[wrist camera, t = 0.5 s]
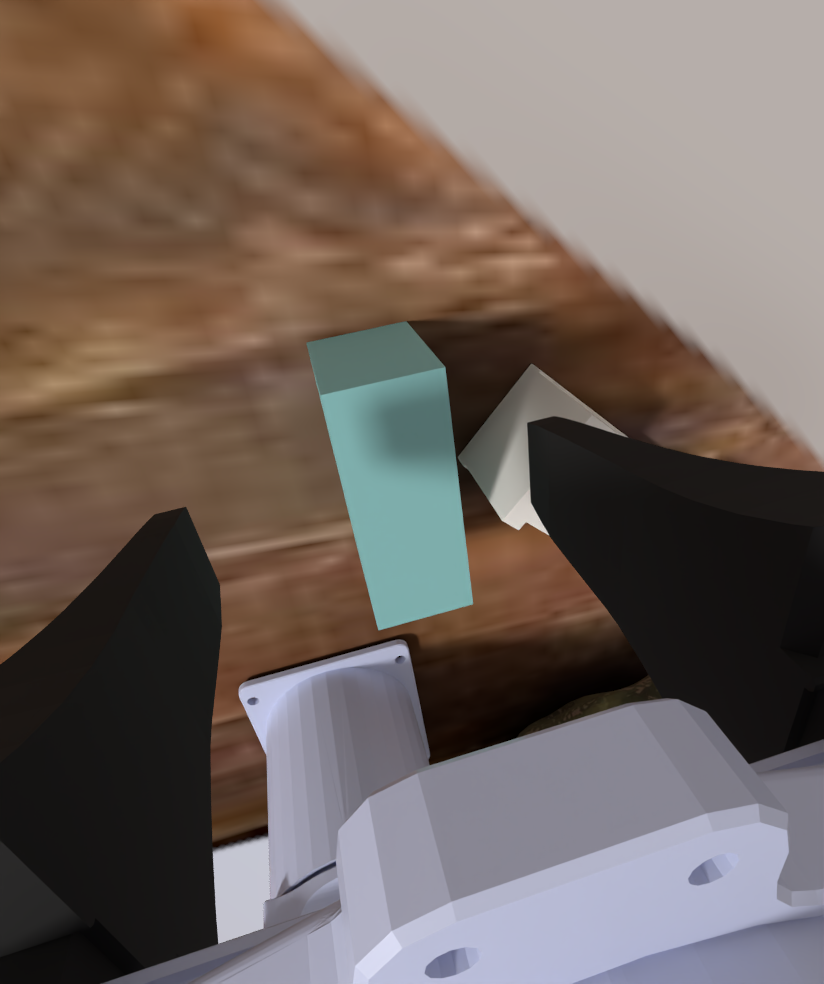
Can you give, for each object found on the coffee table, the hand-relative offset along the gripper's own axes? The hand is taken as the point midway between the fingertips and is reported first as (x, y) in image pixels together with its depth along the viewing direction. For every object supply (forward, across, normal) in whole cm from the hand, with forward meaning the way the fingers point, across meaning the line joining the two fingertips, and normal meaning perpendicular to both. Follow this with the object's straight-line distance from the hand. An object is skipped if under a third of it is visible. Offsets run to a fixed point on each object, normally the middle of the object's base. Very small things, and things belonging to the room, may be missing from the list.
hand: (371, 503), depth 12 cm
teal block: (+10, -1, +4) cm, 10 cm away
